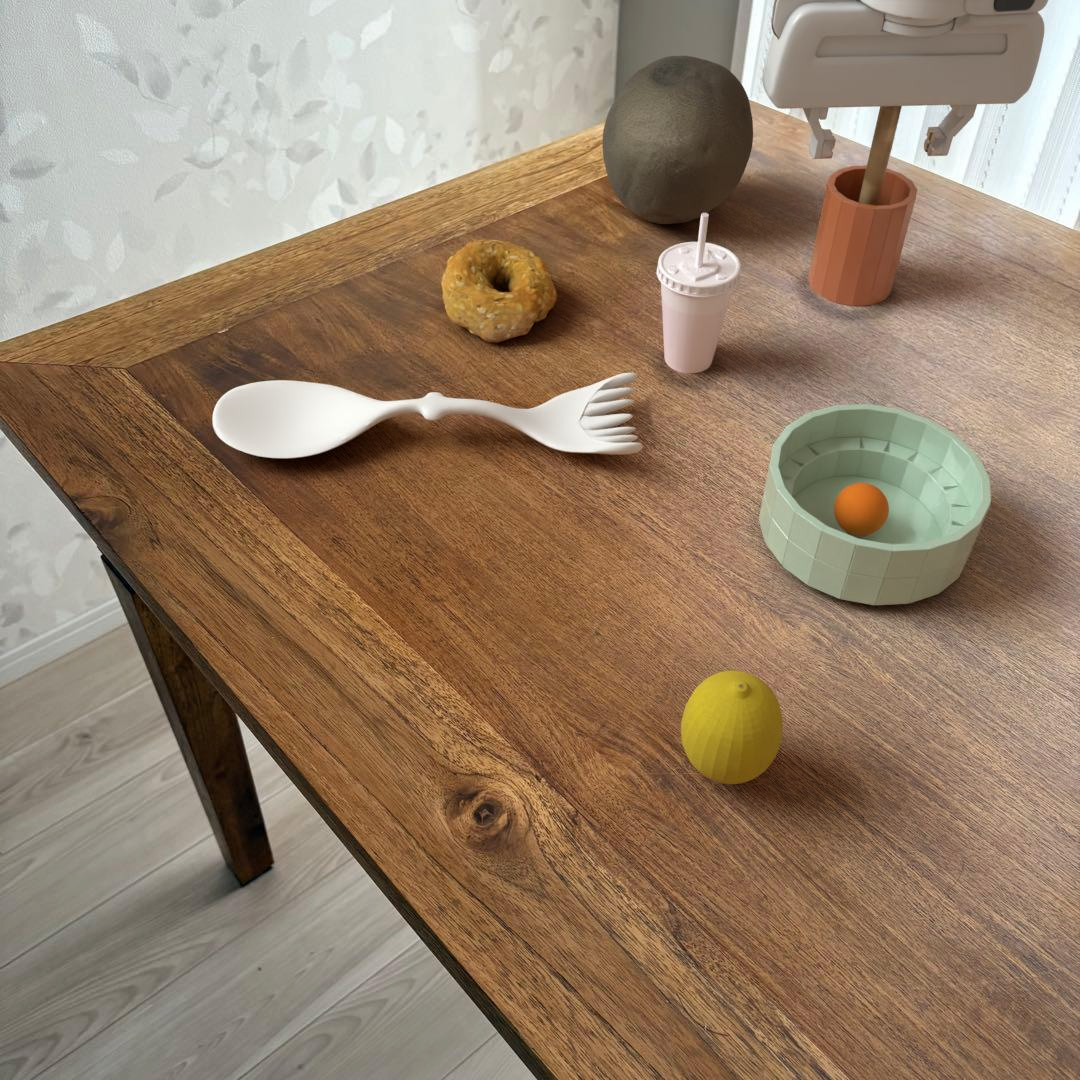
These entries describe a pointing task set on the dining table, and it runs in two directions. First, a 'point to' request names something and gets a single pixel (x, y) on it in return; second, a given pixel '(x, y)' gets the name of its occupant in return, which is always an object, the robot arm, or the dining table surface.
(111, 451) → the dining table surface
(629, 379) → the spoon
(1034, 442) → the dining table surface
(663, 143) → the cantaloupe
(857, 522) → the ball
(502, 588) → the dining table surface
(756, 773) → the lemon
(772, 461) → the bowl
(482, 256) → the bagel
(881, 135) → the stick
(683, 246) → the smoothie
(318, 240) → the dining table surface
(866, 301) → the crock
